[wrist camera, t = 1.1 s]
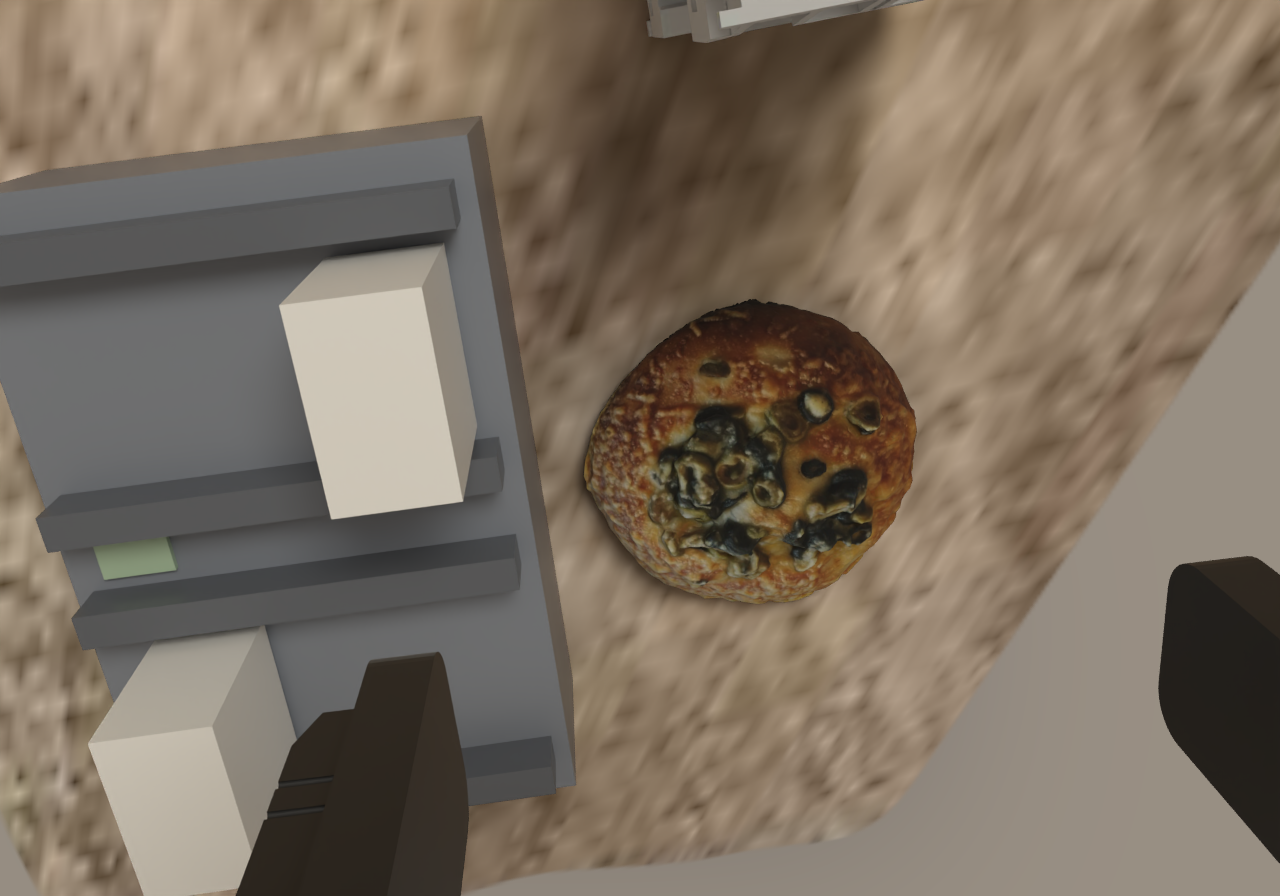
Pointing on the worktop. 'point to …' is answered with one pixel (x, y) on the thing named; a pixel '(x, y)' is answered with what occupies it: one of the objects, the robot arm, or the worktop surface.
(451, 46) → the worktop surface
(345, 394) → the block
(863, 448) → the bread roll
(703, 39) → the circuit breaker
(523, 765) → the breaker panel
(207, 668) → the breaker
